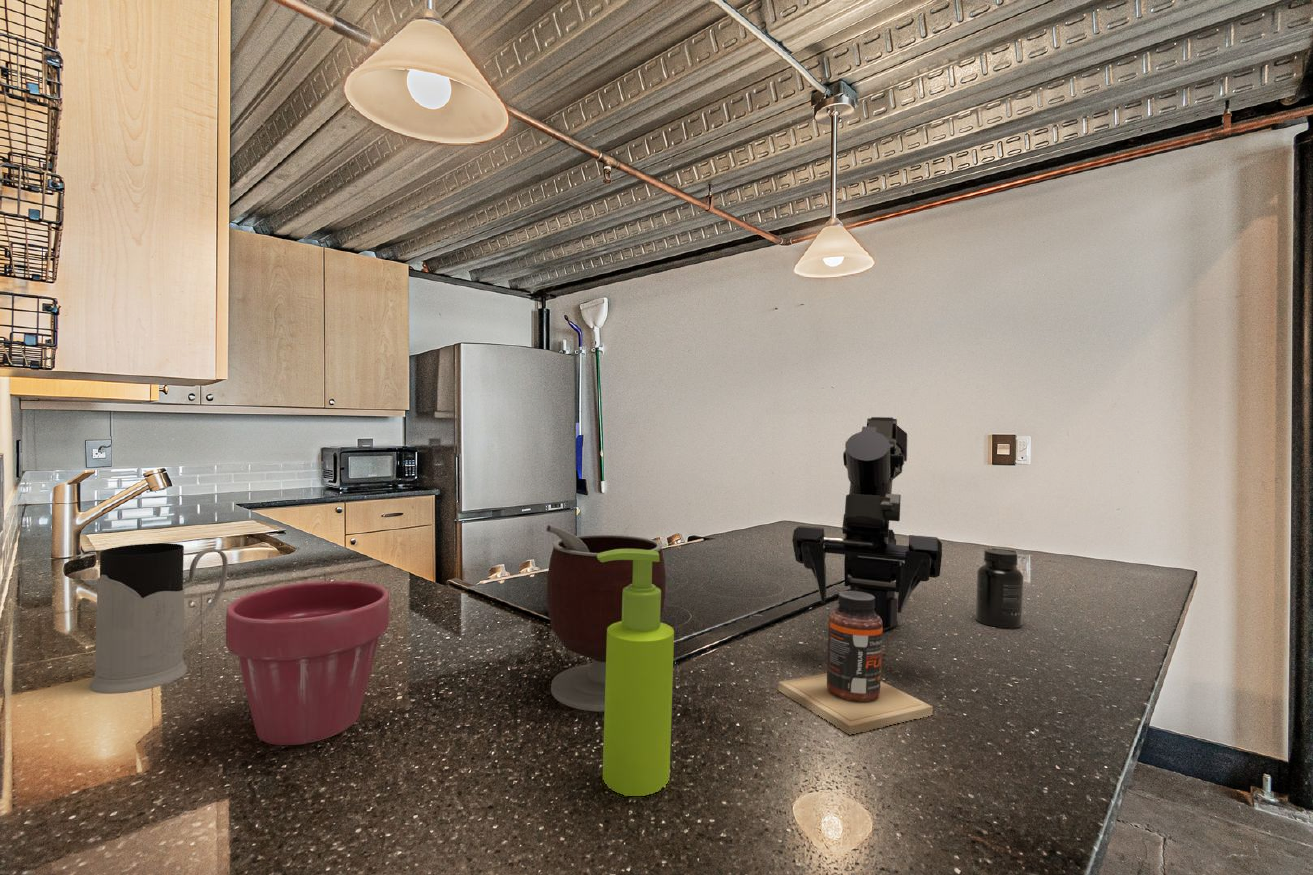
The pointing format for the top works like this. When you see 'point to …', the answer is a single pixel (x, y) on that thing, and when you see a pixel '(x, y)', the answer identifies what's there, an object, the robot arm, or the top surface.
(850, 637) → the supplement bottle
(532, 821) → the top surface
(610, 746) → the soap dispenser
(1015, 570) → the supplement bottle
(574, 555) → the mate gourd
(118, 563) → the glass holder
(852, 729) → the coaster
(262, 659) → the plant pot
